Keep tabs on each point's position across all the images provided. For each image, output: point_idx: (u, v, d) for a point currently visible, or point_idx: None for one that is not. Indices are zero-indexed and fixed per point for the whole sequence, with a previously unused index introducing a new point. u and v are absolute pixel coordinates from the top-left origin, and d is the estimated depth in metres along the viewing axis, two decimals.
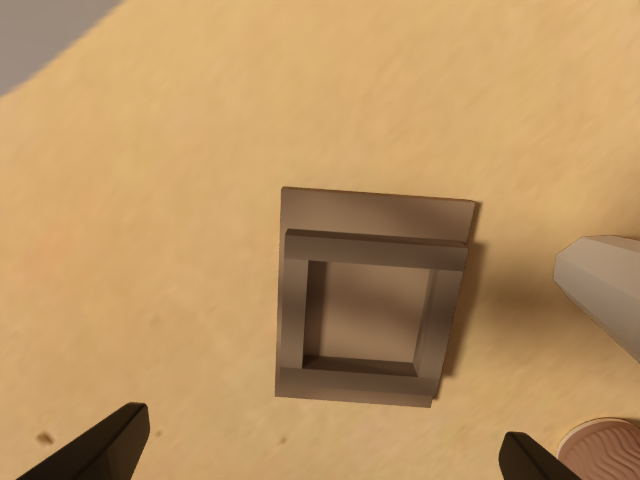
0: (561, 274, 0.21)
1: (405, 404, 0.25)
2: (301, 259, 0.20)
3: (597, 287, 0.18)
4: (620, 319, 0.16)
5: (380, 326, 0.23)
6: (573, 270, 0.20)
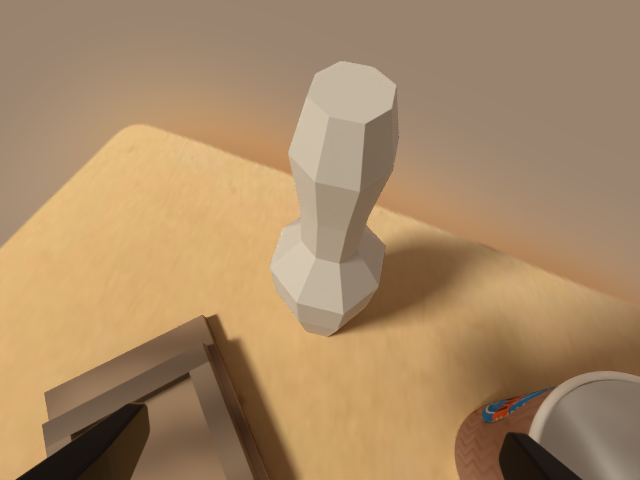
0: None
1: None
2: (63, 438, 0.21)
3: None
4: None
5: (182, 467, 0.22)
6: None
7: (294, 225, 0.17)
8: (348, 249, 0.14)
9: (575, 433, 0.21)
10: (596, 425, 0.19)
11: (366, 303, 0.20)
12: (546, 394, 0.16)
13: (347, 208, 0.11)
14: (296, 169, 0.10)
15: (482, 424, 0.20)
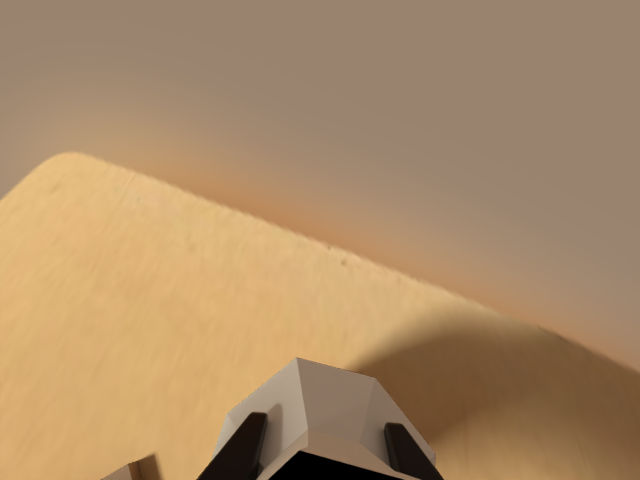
0: None
1: None
2: None
3: None
4: None
5: None
6: None
7: None
8: None
9: None
10: None
11: None
12: None
13: None
14: None
15: None
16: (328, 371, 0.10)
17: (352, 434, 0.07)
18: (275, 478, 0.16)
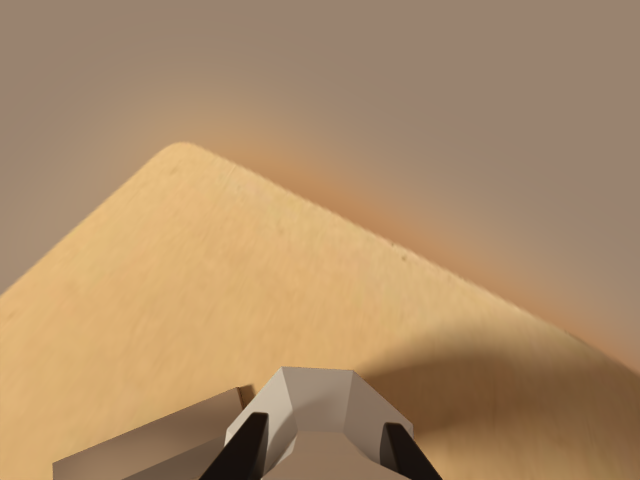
0: None
1: None
2: None
3: None
4: None
5: None
6: None
7: None
8: None
9: None
10: None
11: None
12: None
13: None
14: None
15: None
16: (311, 373, 0.11)
17: (336, 426, 0.08)
18: None
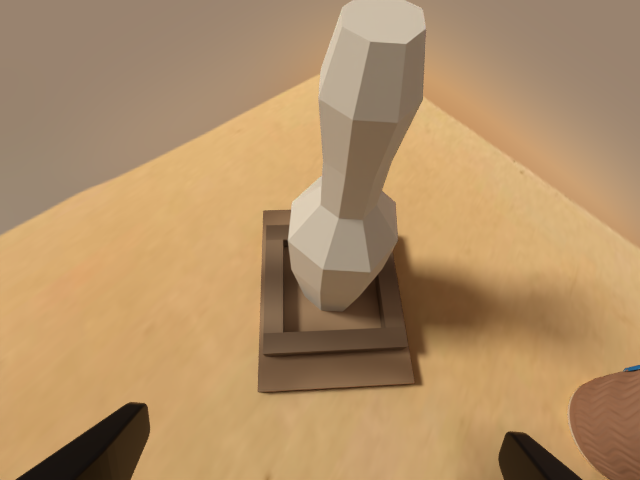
0: (313, 302, 0.27)
1: (389, 382, 0.25)
2: (277, 239, 0.28)
3: (303, 287, 0.24)
4: (310, 288, 0.22)
5: None
6: (305, 293, 0.26)
7: (306, 194, 0.17)
8: (371, 201, 0.15)
9: None
10: None
11: (384, 263, 0.20)
12: None
13: (380, 147, 0.11)
14: (327, 114, 0.10)
15: (627, 371, 0.22)
16: None
17: None
18: (312, 299, 0.26)
